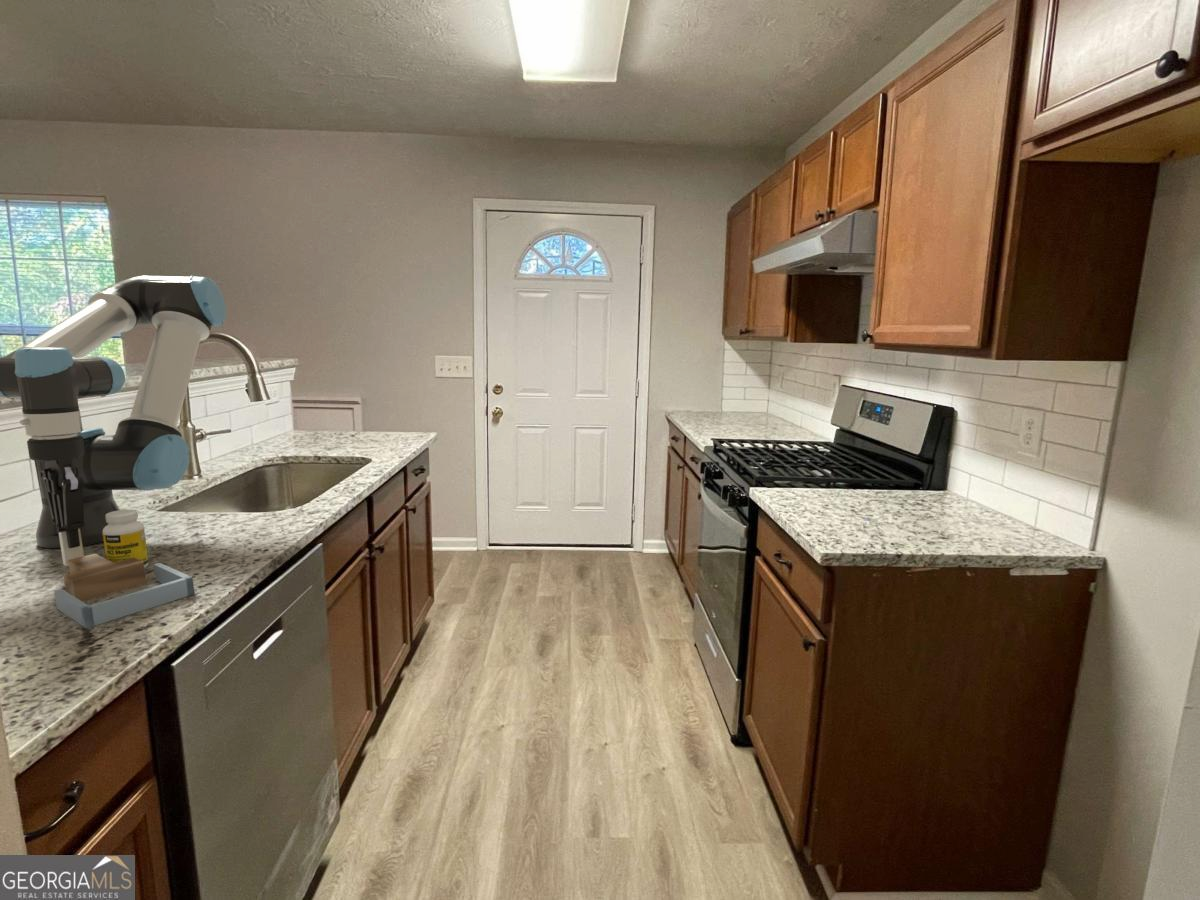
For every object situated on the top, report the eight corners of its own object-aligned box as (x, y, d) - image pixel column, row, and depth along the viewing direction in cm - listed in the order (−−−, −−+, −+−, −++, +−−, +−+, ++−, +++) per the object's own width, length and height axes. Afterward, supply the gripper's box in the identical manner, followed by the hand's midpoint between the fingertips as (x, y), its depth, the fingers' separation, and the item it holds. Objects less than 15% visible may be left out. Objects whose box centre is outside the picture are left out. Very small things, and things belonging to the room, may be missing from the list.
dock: (56, 608, 99) (54, 591, 99) (162, 578, 112) (160, 562, 111) (86, 628, 93) (83, 609, 92) (194, 593, 105) (192, 577, 105)
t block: (49, 586, 108) (46, 565, 107) (117, 569, 116) (114, 548, 115) (76, 603, 101) (72, 580, 100) (146, 583, 109) (143, 562, 109)
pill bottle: (104, 577, 112) (95, 519, 110) (112, 566, 117) (103, 510, 115) (146, 572, 114) (138, 514, 112) (151, 561, 120) (144, 506, 118)
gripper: (15, 435, 109) (35, 561, 113) (40, 442, 102) (60, 577, 106) (68, 430, 115) (85, 550, 119) (95, 436, 108) (113, 564, 112)
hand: (74, 563), depth 113 cm, fingers closed
